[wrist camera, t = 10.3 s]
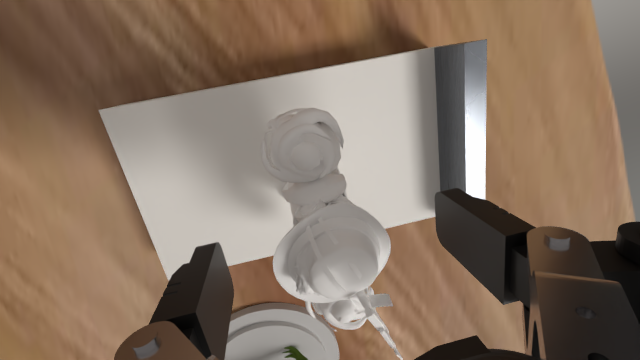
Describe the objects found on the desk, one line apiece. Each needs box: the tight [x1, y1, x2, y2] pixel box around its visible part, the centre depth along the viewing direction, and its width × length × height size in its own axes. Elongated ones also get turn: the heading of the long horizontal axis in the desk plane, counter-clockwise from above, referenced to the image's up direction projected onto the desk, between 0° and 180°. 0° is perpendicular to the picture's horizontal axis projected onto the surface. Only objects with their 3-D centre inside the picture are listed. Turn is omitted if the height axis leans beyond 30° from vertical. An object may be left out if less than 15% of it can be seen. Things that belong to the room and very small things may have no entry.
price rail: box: [434, 39, 487, 200], centre depth 19 cm, size 11×1×3 cm, turn 10°
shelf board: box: [99, 44, 451, 280], centre depth 21 cm, size 11×20×3 cm, turn 100°
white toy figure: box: [261, 107, 402, 360], centre depth 14 cm, size 9×4×12 cm, turn 13°
